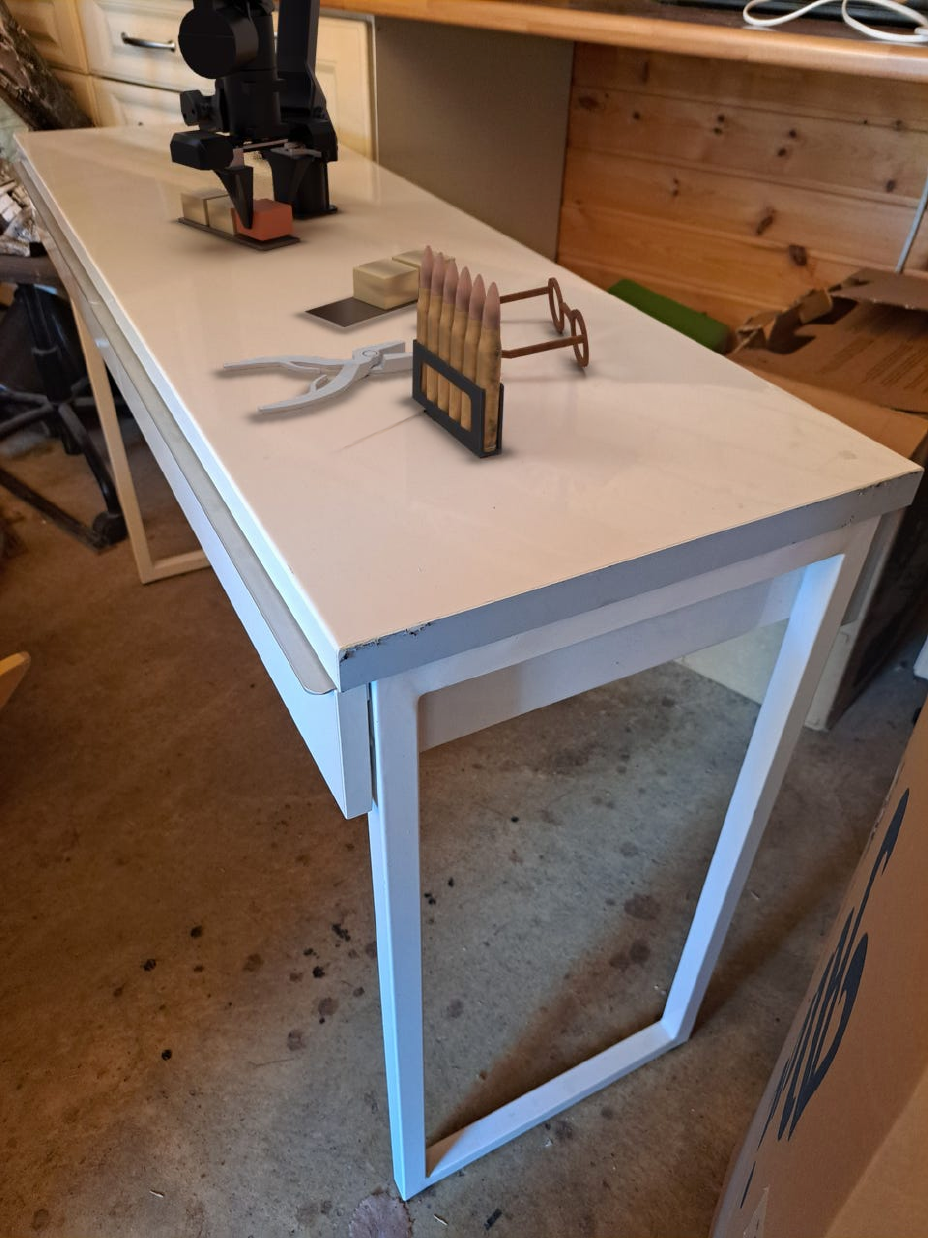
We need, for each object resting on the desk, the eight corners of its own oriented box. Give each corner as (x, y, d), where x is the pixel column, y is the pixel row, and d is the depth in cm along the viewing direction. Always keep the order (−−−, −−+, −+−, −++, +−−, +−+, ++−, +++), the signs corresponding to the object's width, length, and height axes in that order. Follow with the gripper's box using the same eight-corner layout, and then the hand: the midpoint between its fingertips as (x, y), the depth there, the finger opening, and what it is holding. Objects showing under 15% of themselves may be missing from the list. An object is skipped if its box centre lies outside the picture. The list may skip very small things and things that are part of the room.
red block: (293, 233, 102) (291, 205, 100) (262, 240, 99) (259, 212, 98) (268, 225, 105) (266, 197, 103) (237, 232, 102) (234, 204, 100)
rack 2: (422, 278, 94) (422, 245, 92) (461, 291, 91) (462, 257, 89) (304, 315, 84) (301, 279, 82) (344, 330, 81) (342, 293, 79)
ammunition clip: (411, 400, 70) (410, 243, 62) (431, 396, 71) (433, 240, 63) (480, 458, 63) (488, 288, 55) (502, 452, 63) (513, 284, 56)
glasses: (590, 379, 74) (597, 320, 71) (438, 383, 73) (439, 323, 69) (554, 323, 85) (559, 270, 81) (419, 326, 83) (420, 271, 80)
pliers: (220, 353, 72) (386, 327, 78) (223, 371, 73) (387, 344, 79) (259, 400, 65) (437, 367, 71) (262, 419, 66) (437, 385, 72)
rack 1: (178, 221, 108) (173, 191, 106) (216, 213, 111) (212, 184, 109) (262, 250, 99) (259, 219, 97) (300, 241, 103) (298, 210, 101)
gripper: (270, 53, 101) (283, 198, 111) (127, 64, 90) (155, 224, 100) (335, 64, 96) (343, 216, 106) (191, 77, 85) (214, 246, 94)
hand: (265, 224), depth 101 cm, fingers closed on red block, 4 cm apart
